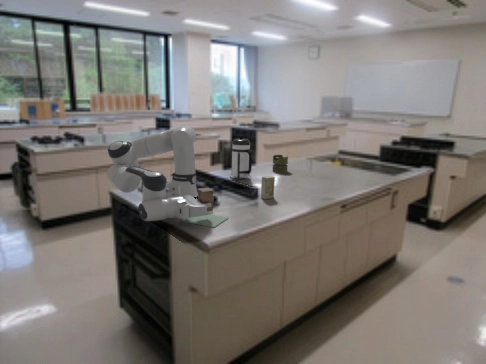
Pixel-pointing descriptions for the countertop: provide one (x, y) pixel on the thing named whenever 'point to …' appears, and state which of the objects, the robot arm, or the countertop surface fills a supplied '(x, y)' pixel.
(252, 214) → the countertop surface
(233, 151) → the coffee press
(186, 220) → the mat
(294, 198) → the countertop surface
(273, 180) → the skincare box
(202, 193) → the block
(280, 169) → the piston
